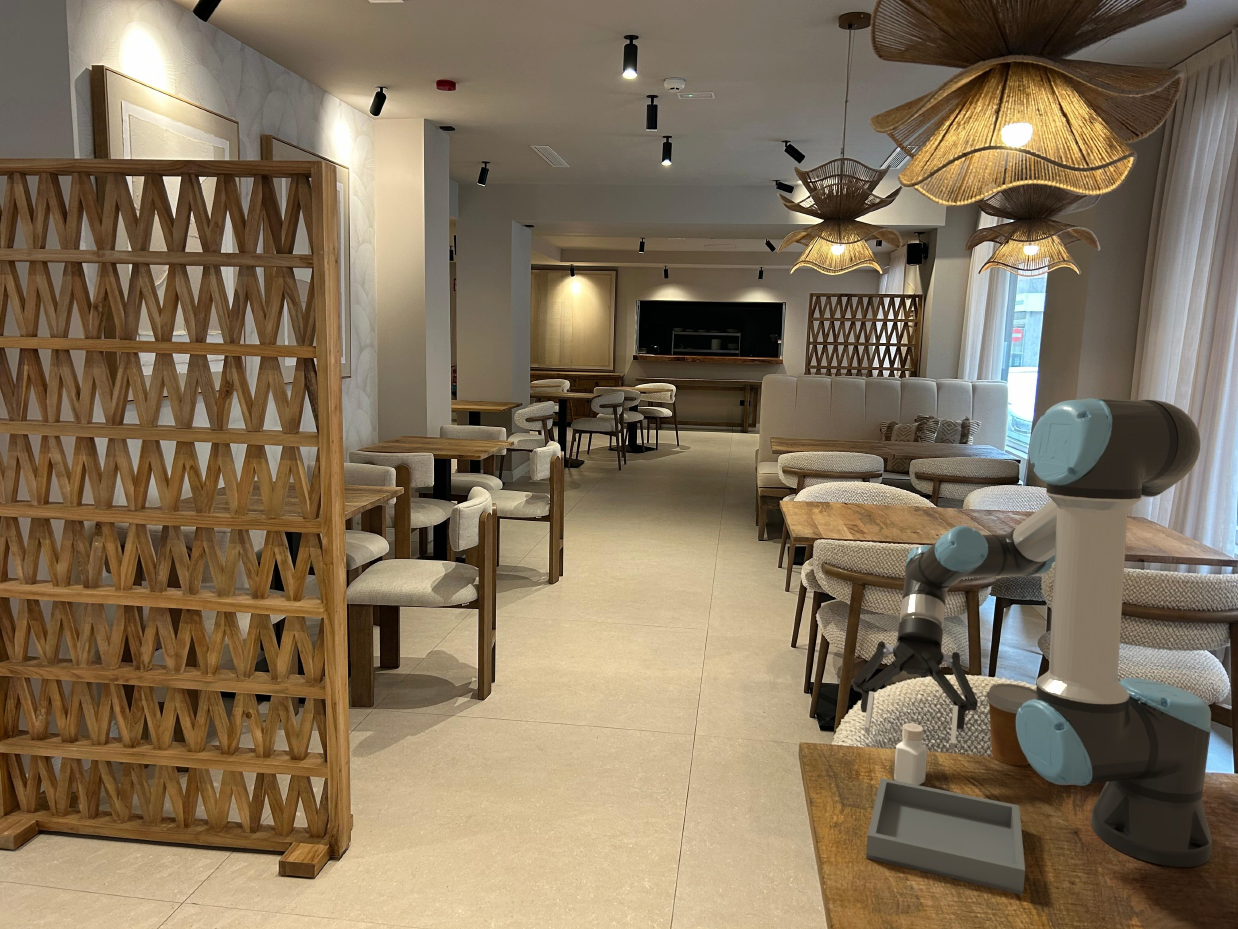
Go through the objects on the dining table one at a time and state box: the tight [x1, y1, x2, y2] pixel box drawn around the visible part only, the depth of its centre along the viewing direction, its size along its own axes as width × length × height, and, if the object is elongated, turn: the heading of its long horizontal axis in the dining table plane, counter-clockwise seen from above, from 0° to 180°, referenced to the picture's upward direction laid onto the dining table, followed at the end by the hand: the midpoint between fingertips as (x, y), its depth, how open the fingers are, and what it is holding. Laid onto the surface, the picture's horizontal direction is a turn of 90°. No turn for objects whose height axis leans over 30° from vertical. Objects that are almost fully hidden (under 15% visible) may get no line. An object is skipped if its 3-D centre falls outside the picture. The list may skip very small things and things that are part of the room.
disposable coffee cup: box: [986, 683, 1036, 767], centre depth 152 cm, size 10×10×12 cm
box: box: [865, 777, 1026, 896], centre depth 125 cm, size 20×18×4 cm
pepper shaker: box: [893, 722, 928, 786], centre depth 142 cm, size 4×4×10 cm
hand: (909, 738), depth 144 cm, fingers open, 13 cm apart
